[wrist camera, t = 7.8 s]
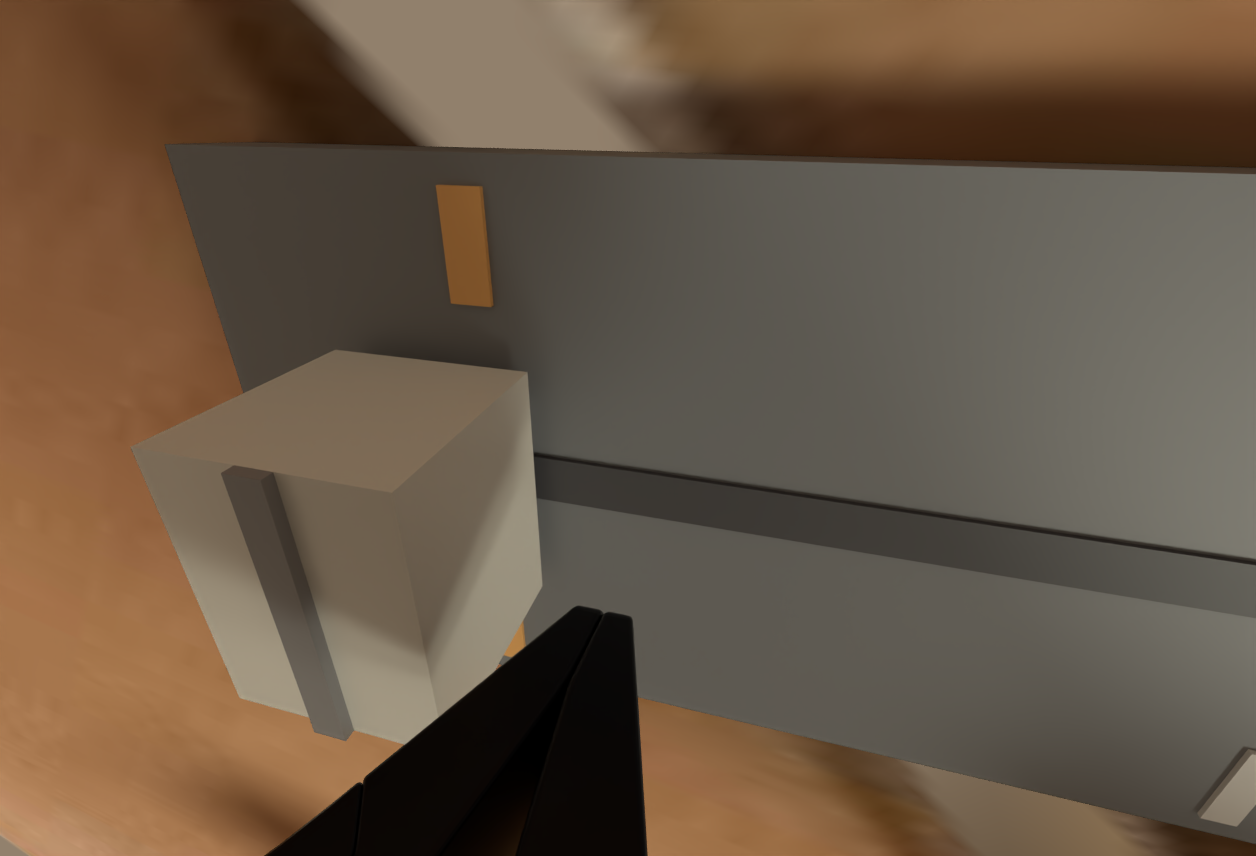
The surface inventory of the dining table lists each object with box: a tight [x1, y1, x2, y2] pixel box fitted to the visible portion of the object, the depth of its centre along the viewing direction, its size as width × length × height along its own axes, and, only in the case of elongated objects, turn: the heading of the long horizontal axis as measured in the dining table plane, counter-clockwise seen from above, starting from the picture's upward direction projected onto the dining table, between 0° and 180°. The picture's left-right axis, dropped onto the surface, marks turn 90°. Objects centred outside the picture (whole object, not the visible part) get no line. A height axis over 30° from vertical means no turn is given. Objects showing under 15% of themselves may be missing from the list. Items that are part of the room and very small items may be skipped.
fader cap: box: [131, 350, 543, 744], centre depth 10 cm, size 5×4×4 cm
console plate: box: [165, 142, 1256, 844], centre depth 11 cm, size 12×26×2 cm, turn 89°
